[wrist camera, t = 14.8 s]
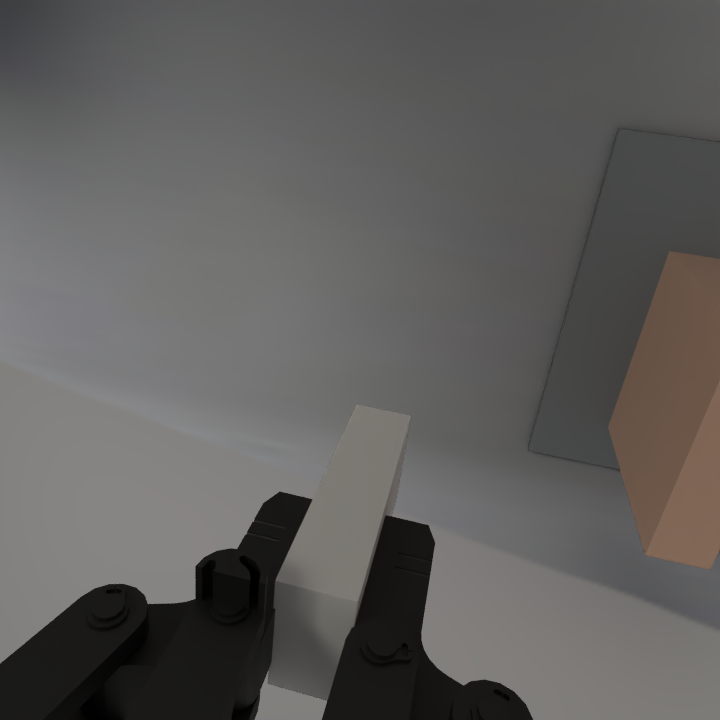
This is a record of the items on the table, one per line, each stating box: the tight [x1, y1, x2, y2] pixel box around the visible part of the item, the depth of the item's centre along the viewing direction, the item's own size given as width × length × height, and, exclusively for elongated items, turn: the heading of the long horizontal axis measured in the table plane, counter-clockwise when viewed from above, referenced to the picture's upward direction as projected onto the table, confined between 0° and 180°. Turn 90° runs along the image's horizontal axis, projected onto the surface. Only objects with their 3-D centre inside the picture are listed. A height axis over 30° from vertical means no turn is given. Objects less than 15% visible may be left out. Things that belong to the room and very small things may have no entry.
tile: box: [608, 251, 720, 570], centre depth 22 cm, size 8×2×8 cm, turn 174°
